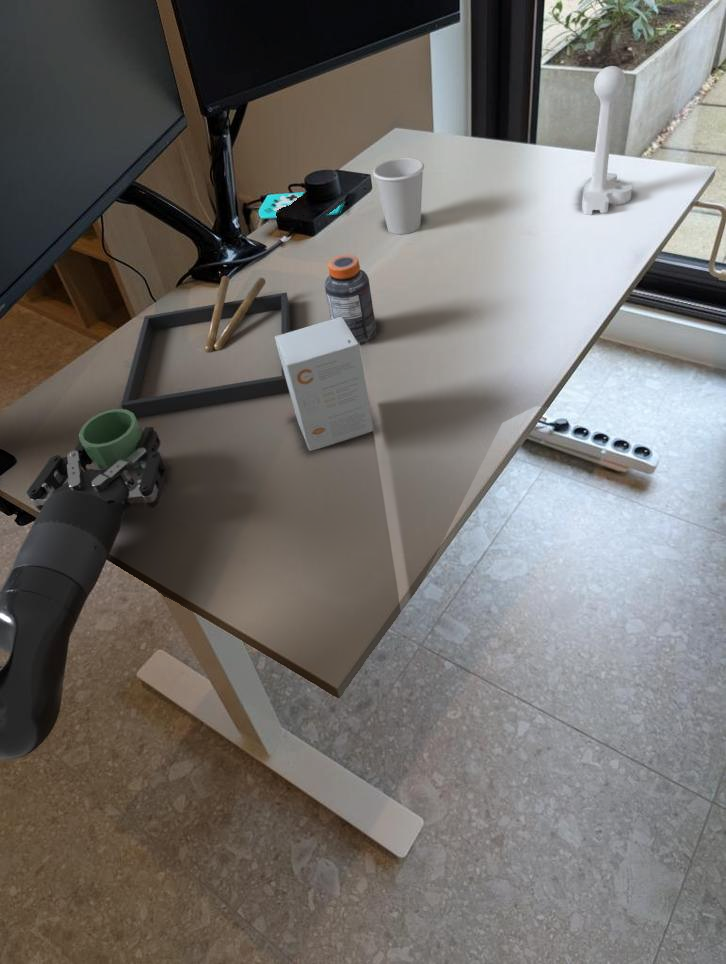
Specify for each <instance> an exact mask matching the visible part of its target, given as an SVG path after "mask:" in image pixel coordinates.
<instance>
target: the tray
mask: <svg viewBox="0 0 726 964" xmlns="http://www.w3.org/2000/svg"><path fill="white" fill-rule="evenodd" d="M244 300H245V298H244V299H239V300H234V301H227V302H224V306H223V311H222V315H221V319H220V321H221V320H225V319H226V320H227V319H232V317H233V316H234V314H235V313H236V311H237V310H238V308H239V307H240V305H241V304H242V302H243V301H244ZM290 307H291V305H290V302H289V296H288V293H287V292H280V293H275V294H274V293H273V294H269V295H268V294H267V295H263V296H257V297H256V298H255V300H254V301H253V303H252V304H251V306H250V307H249V309H248V310H247V312H246V313H245V315H244V316H243V317H245V316H250V315H255V314H256V315H257V314H263V313H267V312H273V311H280V310H281V311H280V312H281V314H280V315H281V316H280V317H281V319H280V321H281V335H282V334H285V333H288V332H291V310H290V309H291V308H290ZM214 308H215V304H210V305H203V306H197V307H192V308H191V307H190V308H186V309H185V308H184V309H180V310H173V311H167V312H162V313H156V314H148V315H145V316H143V321H142V325H141V329H140V333H139V336H138V339H137V344H136V347H135V351H134V355H133V359H132V362H131V367H130V371H129V374H128V379H127V381H126V385H125V389H124V393H123V397H122V401H121V404H120V407H121V409H125V410H128V411H130V412H132V413H133V414H134V415H135V417H136V418H141V417H147V416H151V415H152V416H153V415H160V414H165V413H172V412H178V411H183V410H190V409H196V408H197V409H198V408H202V407H203V408H204V407H207V406H213V405H220V404H226V403H232V402H233V403H234V402H238V401H244V400H251V399H257V398H263V397H268V396H269V397H270V396H276V395H281V394H288V393H289V394H290V392H289V389H288V385H287V381H286V378H285V374H284V370H283V367H282V366H281V375H278V376H272V377H264V378H260V379H253V380H248V381H241V382H235V383H229V384H222V385H216V386H211V387H204V388H198V389H192V390H186V391H180V392H173V393H167V394H162V395H157V396H150V397H144V398H139V396H140V391H141V388H142V383H143V380H144V379H143V378H144V375H145V371H146V366H147V362H148V358H149V355H150V354H149V353H150V350H151V347H152V346H151V345H152V342H153V337H154V333H155V331H160V330H167V329H172V328H173V329H174V328H178V327H184V326H189V325H197V324H203V323H208V322H211V320H212V316H213V312H214Z"/></svg>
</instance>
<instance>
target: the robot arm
mask: <svg viewBox="0 0 726 964" xmlns="http://www.w3.org/2000/svg"><path fill="white" fill-rule="evenodd" d="M142 432H143V433H142V435H141V438H140V440H139V442H138V444H137V446H136V451H134V452H133V453H132V454H131V455H130V456H129V457H128V458H126V459H120V460H118V461H117V462H116V463H115V464H114V465H113V466H112V467H110V468H106V469H102V470H97V469H96V468H88V466H89V465H92V464H93V462H92V461H91V459H90V457H89V456H88V454H87V452H86V450H85V449H84V447H83V445H82V443H81V441H80V440H79V441H78V442H77V444H76V446H75V448H74V449H73V450H71V451H69V452H68V453H67V455H66V456H63V457H62V456H61V455H60V454H56V455H53V456H51V457H50V459H49V460H48V461H47V463H46V464H45V465H44V467H43V468H42V470H41V471H40V472H39V474H38V475H37V477H35V479H34V481H33V482H32V484H31V485H30V486H29V488H28V489H27V491H26V495H27V496H28V498H29V499H30V501H31V502H32V504H33V505H34V506H35V508H36V509H37V510H38V511H39V512H38V515H37V516H36V518H35V520H34V522H33V524H32V525H31V526H30V529H29V530H28V533H27V534H26V536H25V538H24V540H23V542H22V543H21V545H20V546H19V549H18V551H17V553H16V555H15V558H14V561H13V563H12V566H11V568H10V571H9V573H8V575H7V576H6V578H5V580H4V582H3V583H2V586H1V588H0V650H1V651H3V652H6V653H8V657H7V659H6V660H5V662H4V663H3V665H0V761H4V760H5V761H6V760H9V761H10V760H16V759H20V758H23V757H25V756H28V755H29V754H31V753H32V752H34V751H35V750H36V749H38V748H39V747H40V746H41V745H42V744H43V743H44V741H45V740H47V738H48V737H49V735H50V733H51V732H52V731H53V729H54V727H55V725H56V723H57V721H58V718H59V715H60V711H61V706H62V700H63V690H64V680H65V673H66V667H67V659H68V651H69V643H70V638H71V635H72V633H73V631H74V629H75V626H76V624H77V622H78V620H79V617H80V615H81V613H82V610H83V608H84V606H85V603H86V601H87V600H88V597H89V596H90V594H91V592H92V591H93V590H94V588H95V586H96V585H97V583H98V580H99V579H100V576H101V574H102V572H103V569H104V567H105V565H106V562H107V560H108V558H109V555H110V553H111V551H112V549H113V546H114V544H115V542H116V539H117V537H118V535H119V533H120V530H121V527H122V518H123V516H124V513H125V512H126V511H127V510H128V509H130V508H131V506H132V505H133V504H139V503H140V504H142V503H145V504H146V506H147V507H148V508H155V507H157V506H158V505H159V504H160V499H161V496H162V492H163V488H164V485H165V480H166V476H167V473H168V467H167V466H166V464H165V462H164V460H163V457H162V455H161V453H160V452H159V451H158V450H159V449H160V446H161V439H160V436H159V435H158V432H157V431H156V430H155V429H154V427H153V426H145V427H144V429H143V430H142ZM138 462H139V463H140V466H139V467H138V468H137V469H136V470H135V469H134V467H135V465H136V464H137V463H138ZM122 472H123V473H124V475H125V477H126V483H125V482H124V480H123V478H122V476H121V475H120V474H121V473H122ZM55 473H56V474H55ZM66 481H67V482H66Z"/></svg>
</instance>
